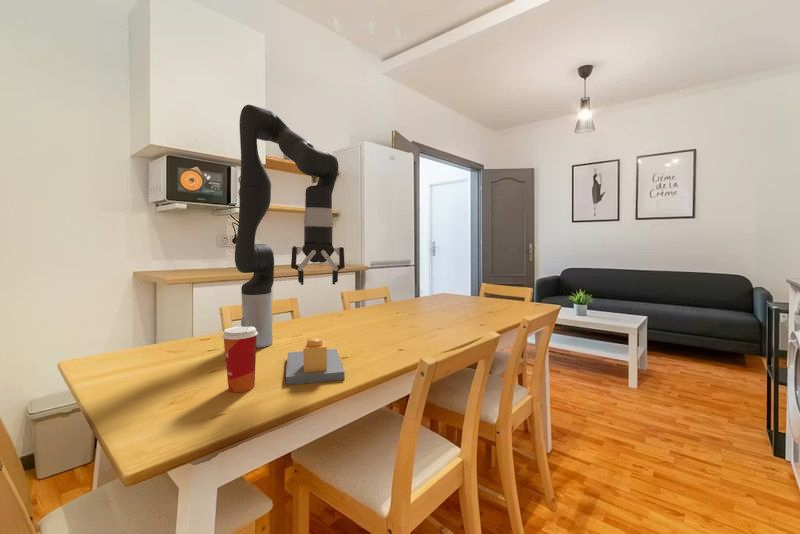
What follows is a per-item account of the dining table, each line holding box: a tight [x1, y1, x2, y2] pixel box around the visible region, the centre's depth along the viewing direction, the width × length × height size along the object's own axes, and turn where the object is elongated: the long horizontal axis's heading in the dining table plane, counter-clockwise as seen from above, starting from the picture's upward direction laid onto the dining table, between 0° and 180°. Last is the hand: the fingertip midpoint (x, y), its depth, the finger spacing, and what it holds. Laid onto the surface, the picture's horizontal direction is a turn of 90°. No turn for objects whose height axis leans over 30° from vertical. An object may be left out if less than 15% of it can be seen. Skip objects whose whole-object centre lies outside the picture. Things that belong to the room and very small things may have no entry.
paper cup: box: [221, 325, 258, 394], centre depth 86 cm, size 8×8×14 cm
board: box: [285, 348, 346, 386], centre depth 100 cm, size 14×20×6 cm
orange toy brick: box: [302, 337, 328, 372], centre depth 95 cm, size 6×6×7 cm
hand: (318, 284), depth 102 cm, fingers open, 8 cm apart
